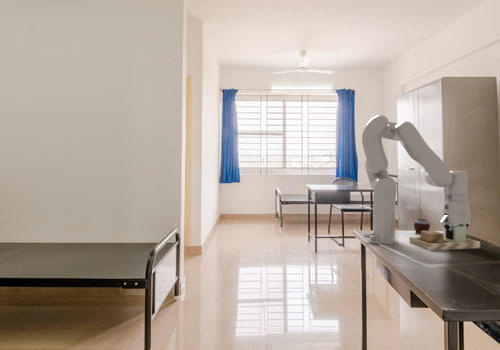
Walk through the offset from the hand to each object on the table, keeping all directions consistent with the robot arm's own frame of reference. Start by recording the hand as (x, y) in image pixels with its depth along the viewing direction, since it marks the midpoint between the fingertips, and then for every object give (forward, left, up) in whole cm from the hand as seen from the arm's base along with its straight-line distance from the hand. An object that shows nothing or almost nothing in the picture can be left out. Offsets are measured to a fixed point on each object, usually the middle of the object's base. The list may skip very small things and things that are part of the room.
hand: (455, 238), depth 124 cm
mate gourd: (+1, +22, -4) cm, 22 cm away
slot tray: (-6, 0, -4) cm, 7 cm away
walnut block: (-12, 0, -3) cm, 12 cm away
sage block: (0, 0, -2) cm, 2 cm away
